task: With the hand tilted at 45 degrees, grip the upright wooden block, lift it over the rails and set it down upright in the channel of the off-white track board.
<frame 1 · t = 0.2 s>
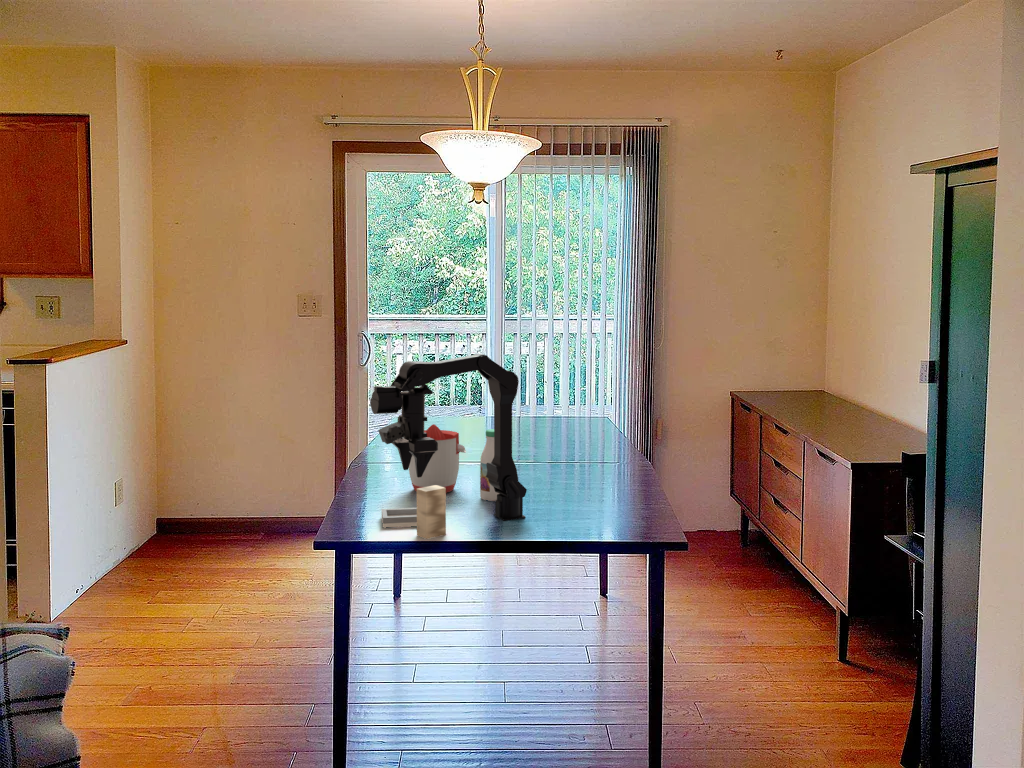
hand: (412, 473, 239), 15 cm above the table, tool pointing down, fingers open, 9 cm apart
track board: (413, 521, 249), on the table
citrus juicer: (436, 491, 282), on the table
upright wooden block: (431, 535, 237), on the table
milk bottle: (493, 499, 273), on the table
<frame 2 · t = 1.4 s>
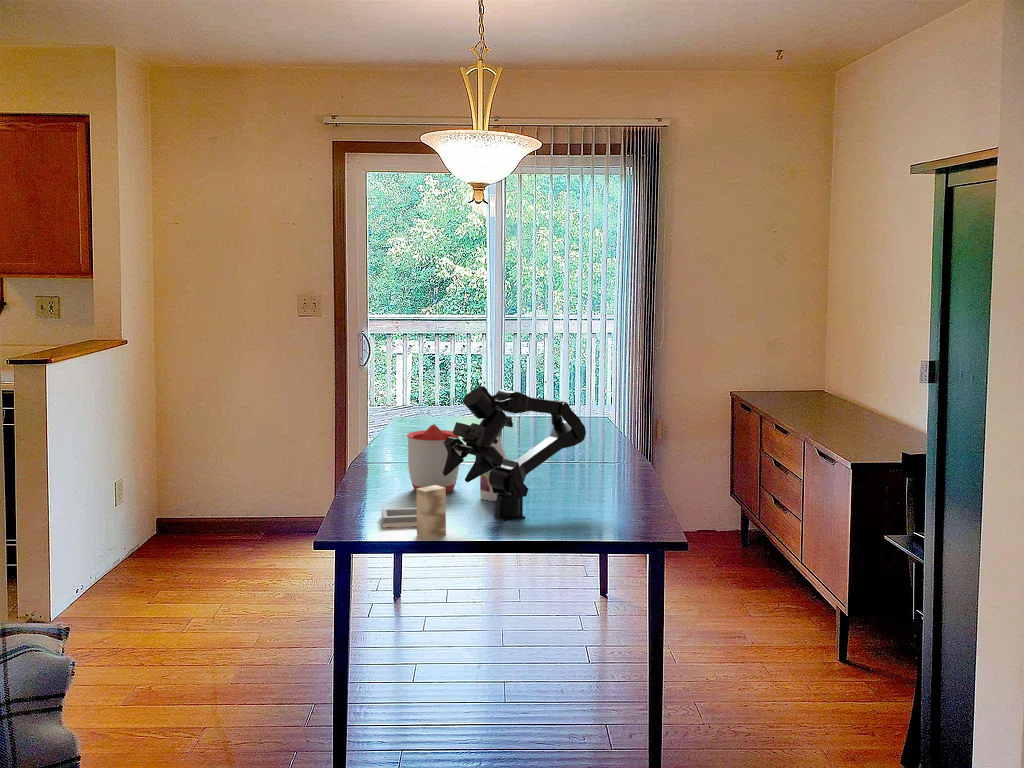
hand: (454, 478, 240), 13 cm above the table, tool tilted 45°, fingers open, 9 cm apart
nothing on the table moved.
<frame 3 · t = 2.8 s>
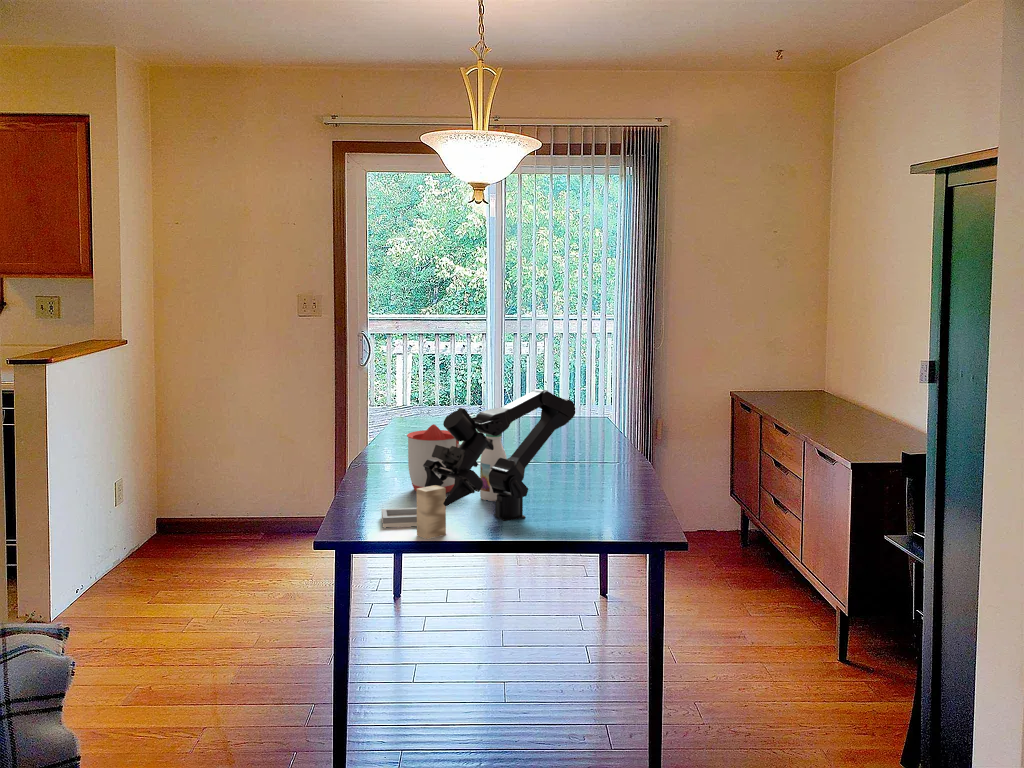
hand: (433, 501, 236), 8 cm above the table, tool tilted 45°, fingers open, 9 cm apart
nothing on the table moved.
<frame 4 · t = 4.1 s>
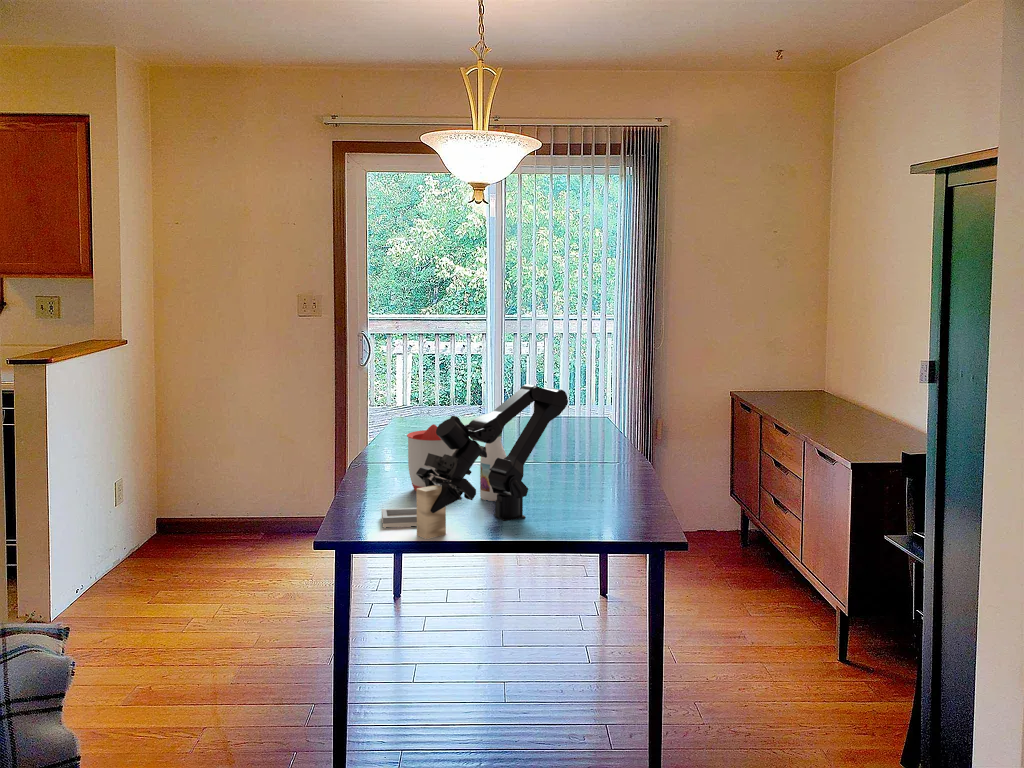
hand: (426, 510, 235), 7 cm above the table, tool tilted 45°, fingers closed on upright wooden block, 4 cm apart
upright wooden block: (431, 535, 237), on the table, touching gripper
everything else where it was.
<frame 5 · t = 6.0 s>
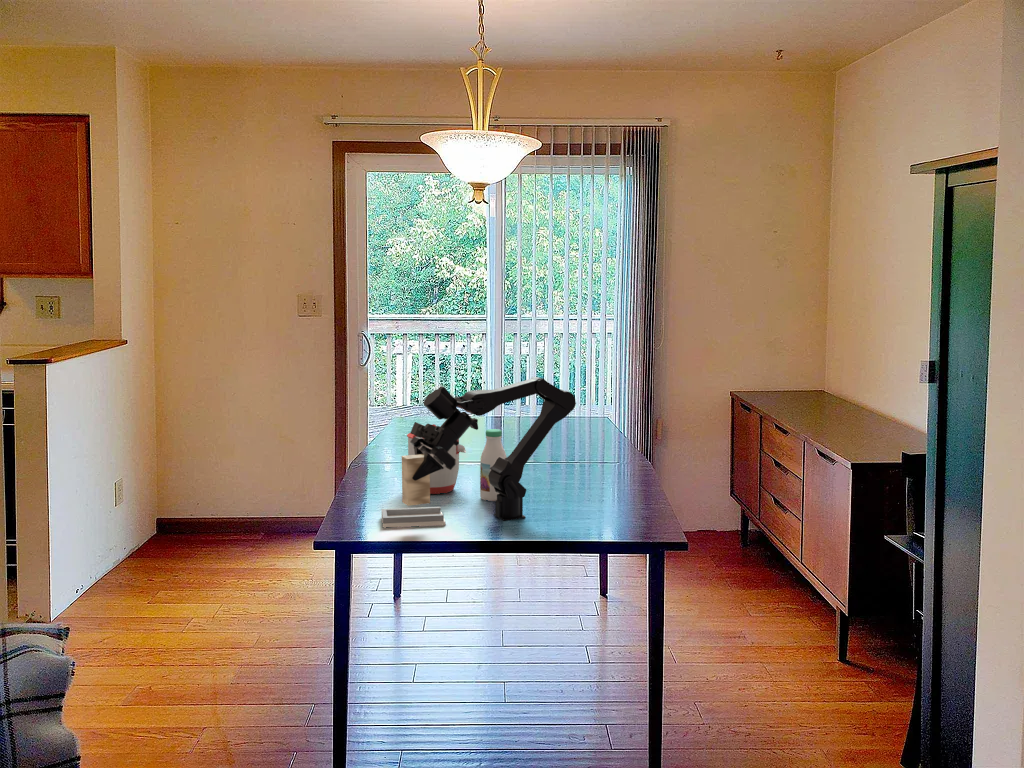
hand: (410, 477, 240), 14 cm above the table, tool tilted 45°, fingers closed on upright wooden block, 4 cm apart
upright wooden block: (416, 502, 241), point 7 cm above the table, touching gripper
everything else where it was.
when the fingers open (8 cm above the table, at t = 8.0 s): upright wooden block stays where it is, resting on track board.
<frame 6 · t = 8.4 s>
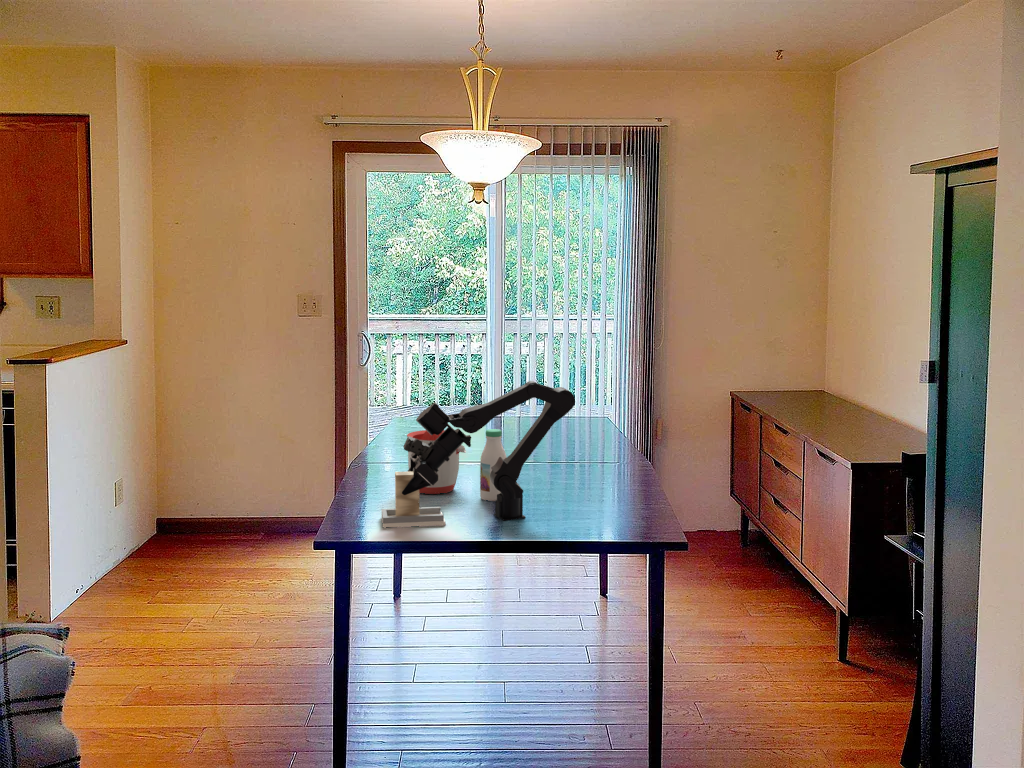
hand: (401, 490, 247), 9 cm above the table, tool tilted 45°, fingers open, 8 cm apart
upright wooden block: (407, 518, 248), point 1 cm above the table, touching track board
everything else where it was.
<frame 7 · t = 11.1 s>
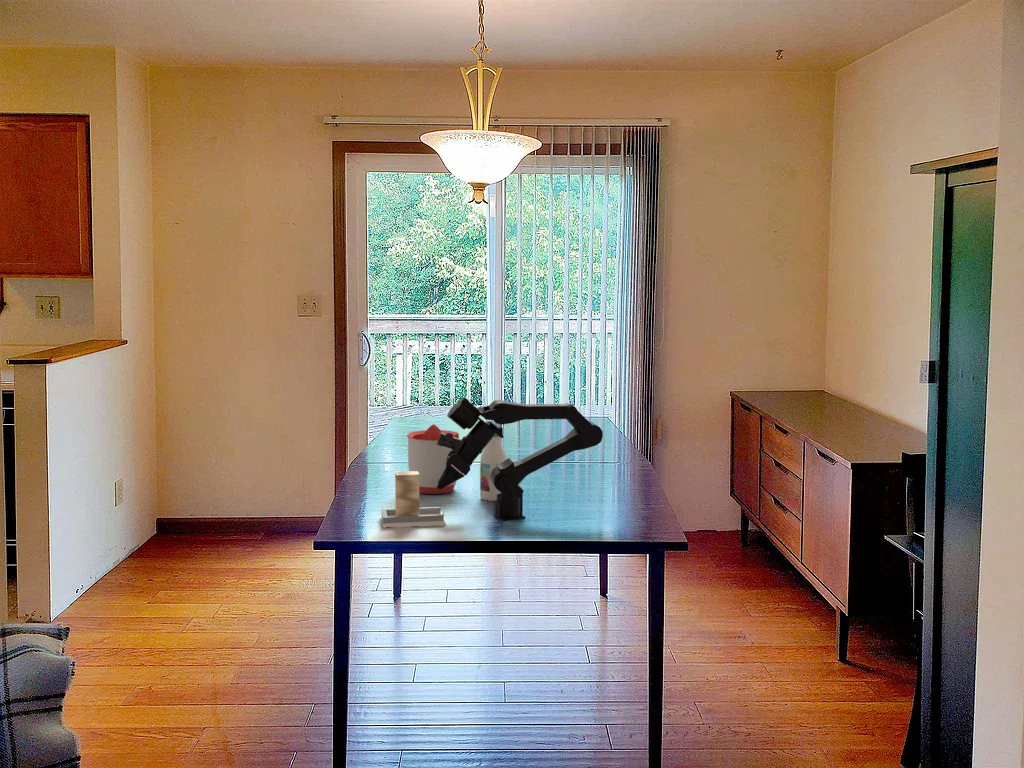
hand: (438, 486, 248), 9 cm above the table, tool tilted 40°, fingers open, 9 cm apart
nothing on the table moved.
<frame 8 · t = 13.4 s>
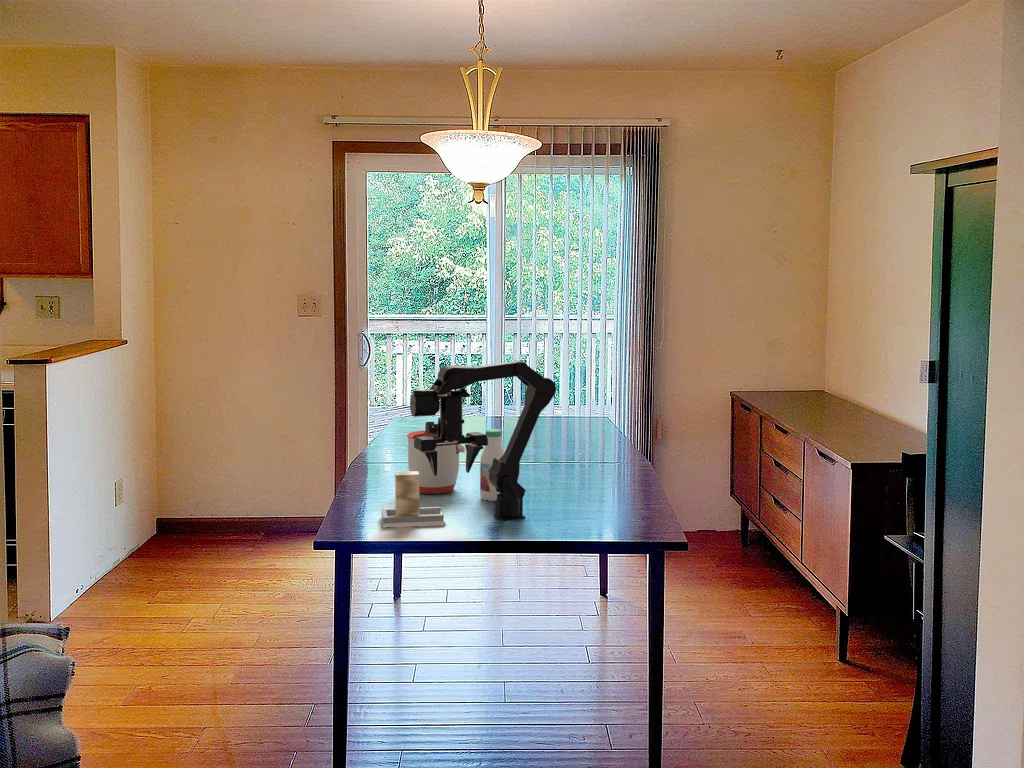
hand: (451, 474, 246), 13 cm above the table, tool pointing down, fingers open, 9 cm apart
nothing on the table moved.
at the end: upright wooden block 0.4 cm from the target spot on the track board, point 1.0 cm above the track board's base; upright wooden block tilted 0°; the gripper is holding nothing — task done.
